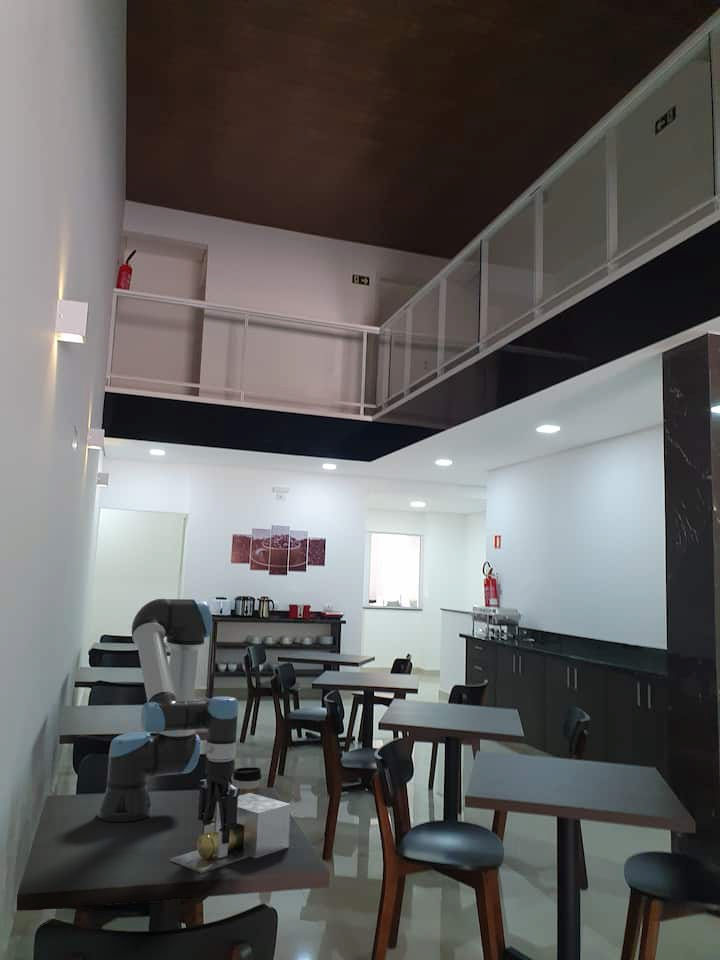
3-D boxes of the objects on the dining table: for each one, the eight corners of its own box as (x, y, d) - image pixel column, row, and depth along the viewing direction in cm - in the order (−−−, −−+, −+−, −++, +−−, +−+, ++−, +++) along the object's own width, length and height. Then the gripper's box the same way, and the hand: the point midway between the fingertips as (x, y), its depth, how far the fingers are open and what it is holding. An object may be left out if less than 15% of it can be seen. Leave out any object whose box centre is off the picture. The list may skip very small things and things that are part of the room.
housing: (165, 859, 186) (168, 813, 188) (248, 833, 208) (250, 792, 210) (206, 875, 176) (209, 826, 178) (288, 847, 198) (290, 804, 200)
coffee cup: (253, 827, 214) (256, 773, 216) (226, 824, 216) (229, 770, 218) (263, 818, 222) (265, 766, 224) (236, 816, 224) (239, 764, 226)
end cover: (196, 855, 187) (197, 832, 188) (237, 842, 198) (238, 820, 199) (210, 861, 184) (212, 837, 185) (251, 847, 195) (252, 825, 195)
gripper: (187, 755, 195) (181, 849, 191) (232, 766, 184) (227, 866, 180) (209, 751, 201) (203, 842, 197) (254, 762, 190) (249, 858, 186)
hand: (215, 853), depth 189 cm, fingers closed on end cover, 5 cm apart
